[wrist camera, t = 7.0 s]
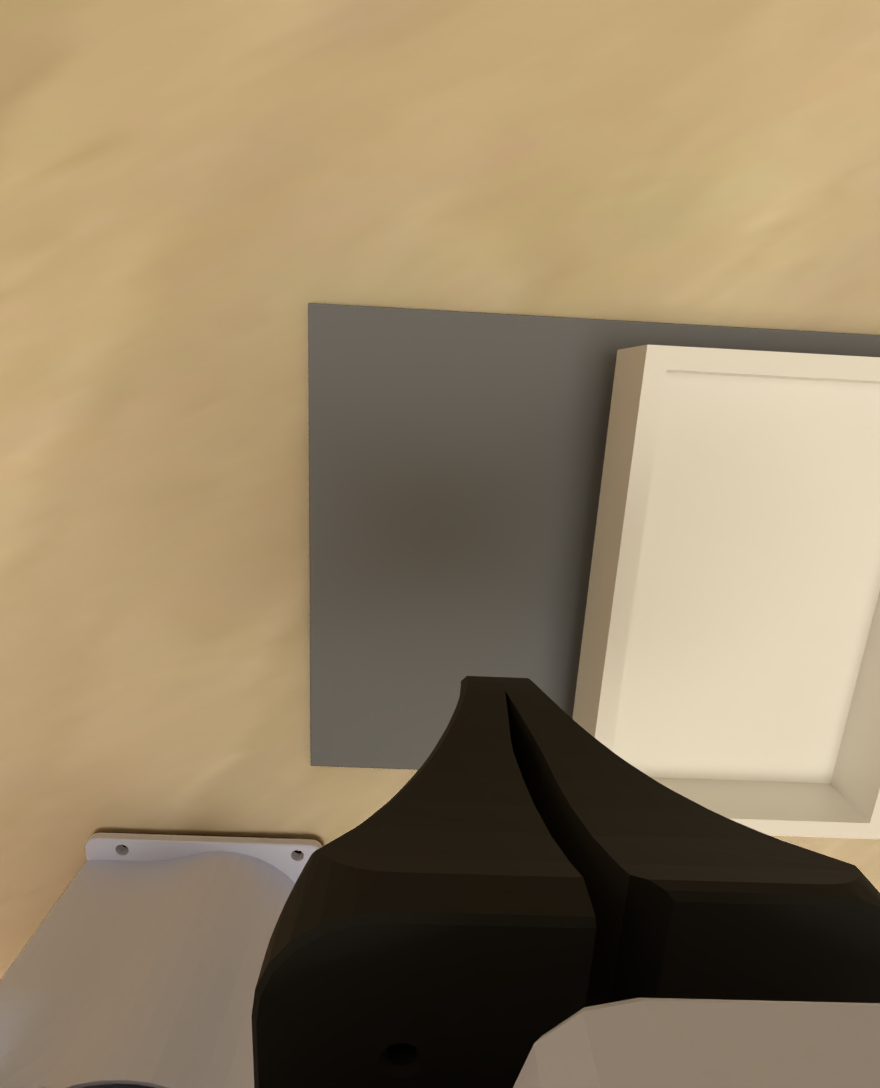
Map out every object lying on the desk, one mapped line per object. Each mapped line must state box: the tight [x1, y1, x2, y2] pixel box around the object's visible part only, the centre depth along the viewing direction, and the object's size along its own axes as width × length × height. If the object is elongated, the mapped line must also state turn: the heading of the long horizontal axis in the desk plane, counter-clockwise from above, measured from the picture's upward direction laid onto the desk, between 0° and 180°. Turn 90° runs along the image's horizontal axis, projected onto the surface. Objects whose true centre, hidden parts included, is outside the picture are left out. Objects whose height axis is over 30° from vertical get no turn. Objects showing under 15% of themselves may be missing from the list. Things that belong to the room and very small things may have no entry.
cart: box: [572, 345, 880, 839], centre depth 20 cm, size 10×15×4 cm, turn 177°
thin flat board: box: [308, 303, 880, 770], centre depth 21 cm, size 23×17×2 cm
